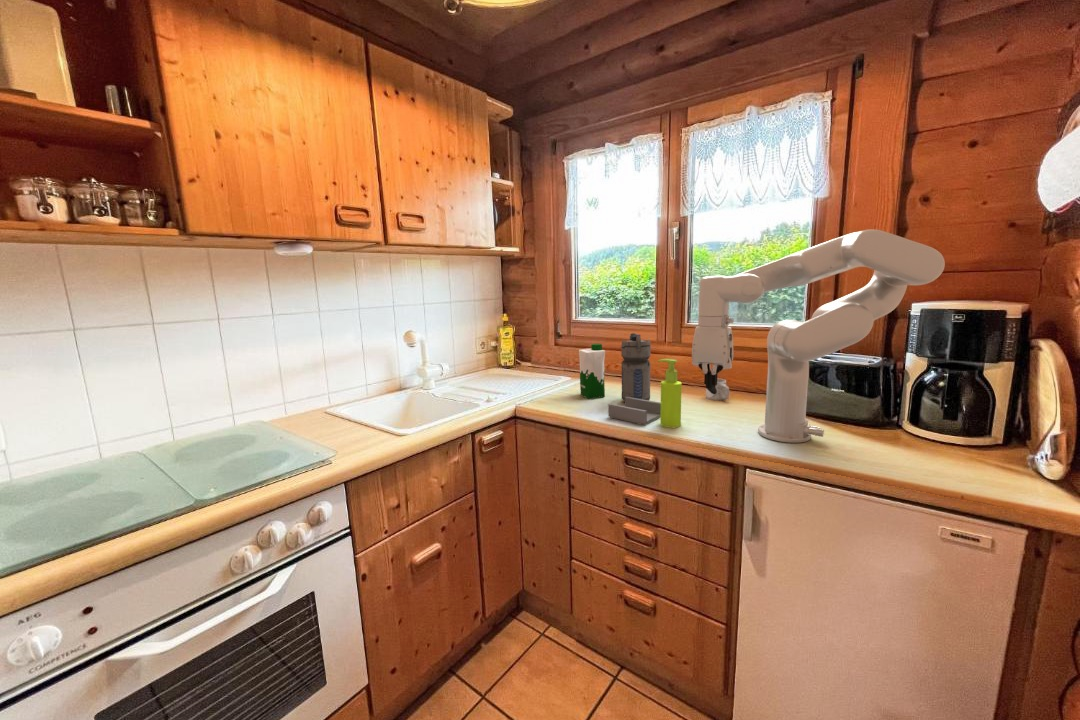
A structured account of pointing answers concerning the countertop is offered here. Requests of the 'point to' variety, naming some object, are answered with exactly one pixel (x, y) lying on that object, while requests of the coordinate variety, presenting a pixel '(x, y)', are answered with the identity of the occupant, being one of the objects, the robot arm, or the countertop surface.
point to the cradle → (636, 411)
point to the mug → (718, 391)
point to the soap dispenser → (670, 397)
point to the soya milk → (592, 372)
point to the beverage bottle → (636, 368)
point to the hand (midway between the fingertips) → (710, 387)
